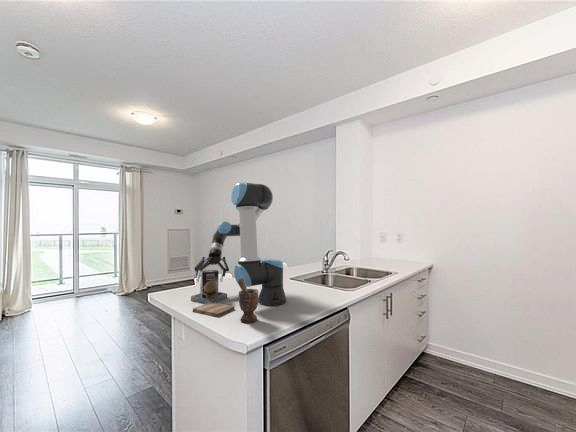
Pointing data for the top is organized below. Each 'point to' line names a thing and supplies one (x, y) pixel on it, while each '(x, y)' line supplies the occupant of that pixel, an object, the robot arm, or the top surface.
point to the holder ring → (205, 300)
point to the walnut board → (213, 309)
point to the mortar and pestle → (247, 302)
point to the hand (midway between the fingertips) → (209, 281)
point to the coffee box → (209, 284)
